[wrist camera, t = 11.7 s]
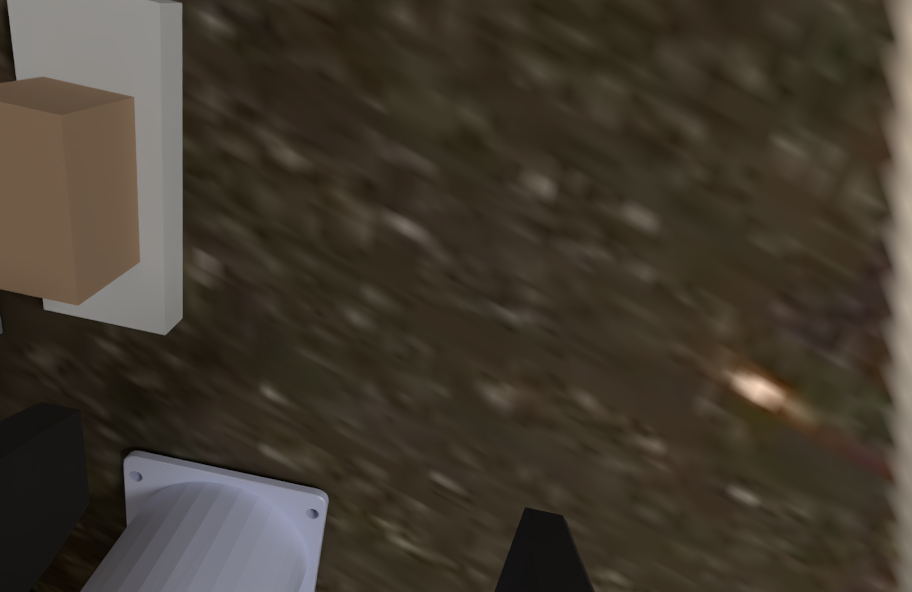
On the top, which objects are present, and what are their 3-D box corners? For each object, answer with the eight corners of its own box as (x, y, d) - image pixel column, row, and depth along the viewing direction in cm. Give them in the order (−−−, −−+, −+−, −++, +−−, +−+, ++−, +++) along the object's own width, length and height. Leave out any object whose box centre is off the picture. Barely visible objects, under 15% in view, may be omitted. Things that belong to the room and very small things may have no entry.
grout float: (186, 313, 21) (111, 388, 17) (73, 289, 21) (-30, 358, 17) (187, 3, 17) (85, 3, 12) (44, -30, 16) (-106, -41, 12)
